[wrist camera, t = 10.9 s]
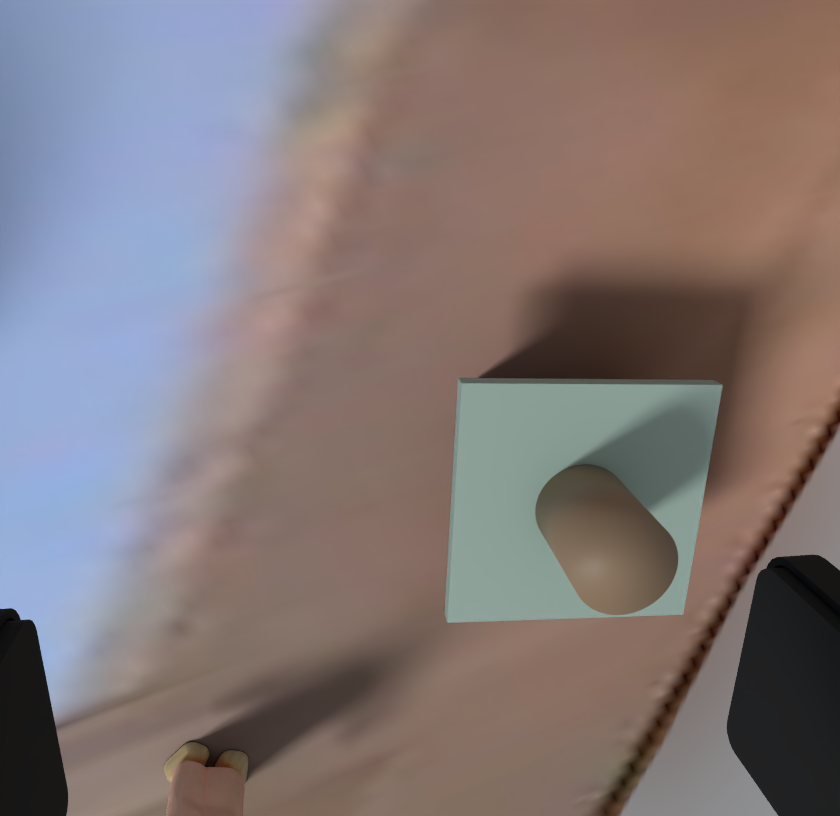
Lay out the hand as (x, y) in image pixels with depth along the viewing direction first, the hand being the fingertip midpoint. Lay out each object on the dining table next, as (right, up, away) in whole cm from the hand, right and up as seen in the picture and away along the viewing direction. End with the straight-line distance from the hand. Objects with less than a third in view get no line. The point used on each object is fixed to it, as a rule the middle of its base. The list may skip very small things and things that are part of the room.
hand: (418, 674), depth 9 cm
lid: (+7, -1, +23) cm, 24 cm away
